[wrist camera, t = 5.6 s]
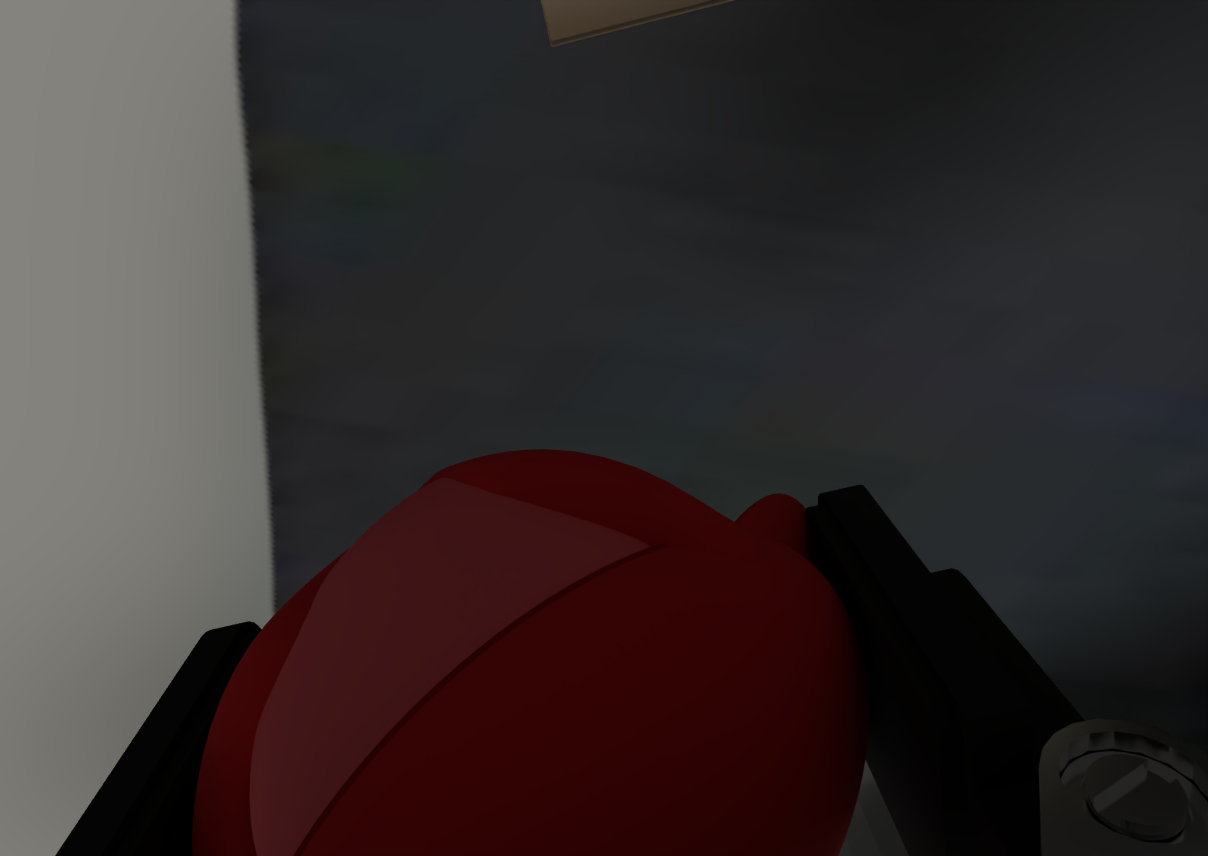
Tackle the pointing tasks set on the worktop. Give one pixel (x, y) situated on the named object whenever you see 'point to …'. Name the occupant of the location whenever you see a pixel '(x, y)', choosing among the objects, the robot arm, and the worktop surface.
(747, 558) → the red bell pepper
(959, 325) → the worktop surface
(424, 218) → the worktop surface
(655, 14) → the pedestal
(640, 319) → the worktop surface
